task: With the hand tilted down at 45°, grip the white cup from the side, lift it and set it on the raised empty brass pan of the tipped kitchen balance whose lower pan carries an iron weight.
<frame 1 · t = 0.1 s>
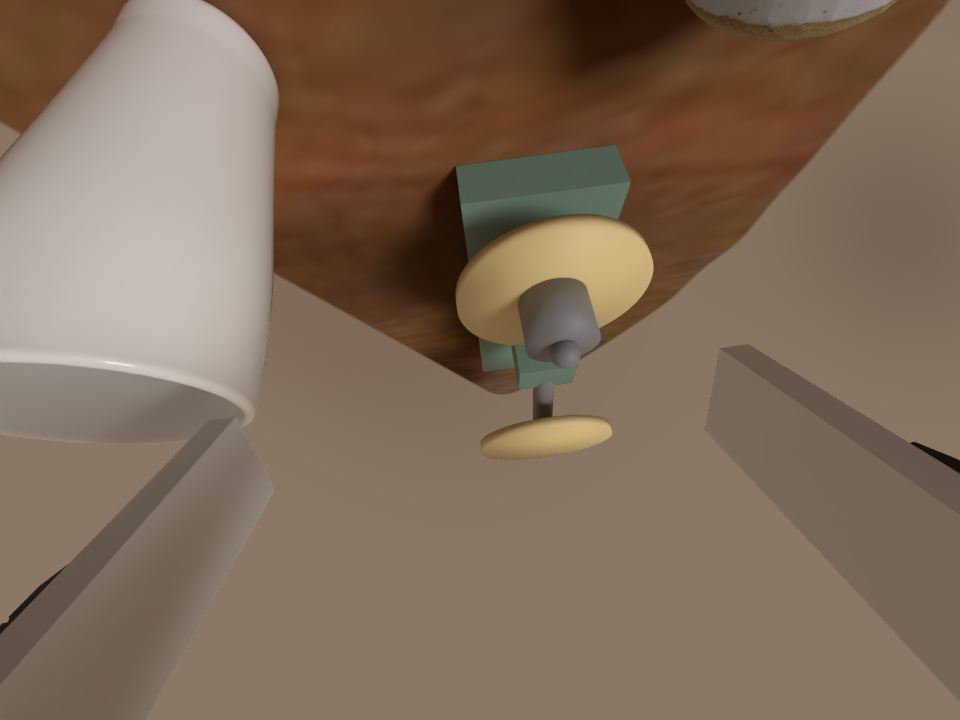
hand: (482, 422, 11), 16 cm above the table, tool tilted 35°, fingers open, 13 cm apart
balance: (525, 278, 31), on the table
white cup: (209, 63, 16), on the table, touching gripper
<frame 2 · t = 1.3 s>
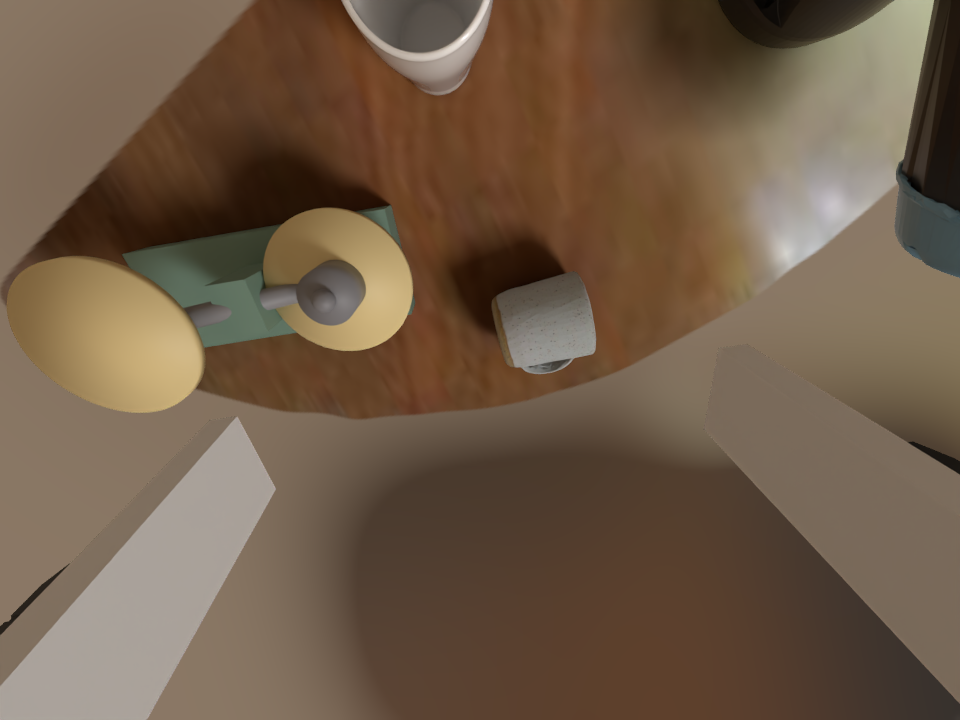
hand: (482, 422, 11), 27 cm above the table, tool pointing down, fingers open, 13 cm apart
balance: (288, 276, 35), on the table
ceramic mug: (540, 319, 38), on the table
white cup: (436, 53, 28), on the table
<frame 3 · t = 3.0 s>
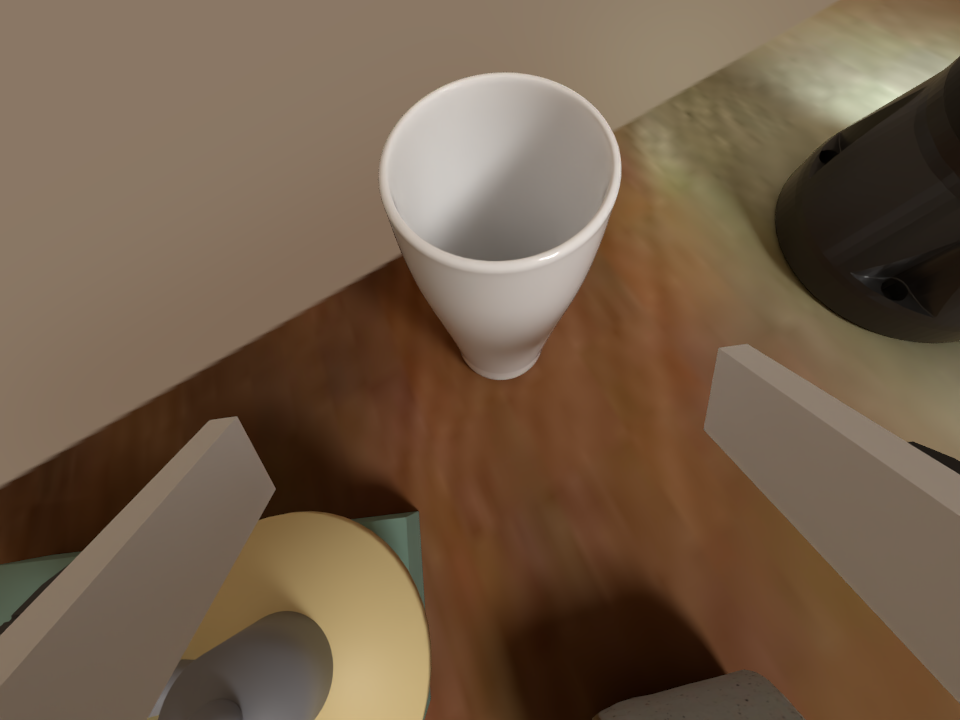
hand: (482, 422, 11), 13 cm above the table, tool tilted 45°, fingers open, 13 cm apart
balance: (226, 621, 21), on the table
white cup: (500, 343, 25), on the table
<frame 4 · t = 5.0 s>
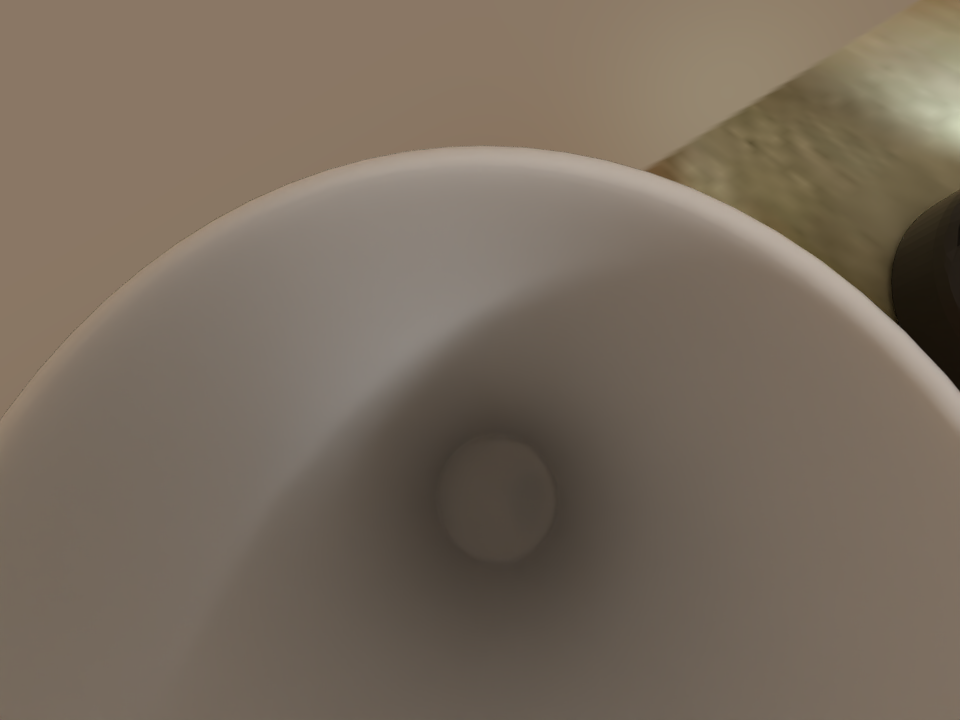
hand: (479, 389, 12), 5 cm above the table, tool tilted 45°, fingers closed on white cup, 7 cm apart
white cup: (497, 493, 16), on the table, touching gripper
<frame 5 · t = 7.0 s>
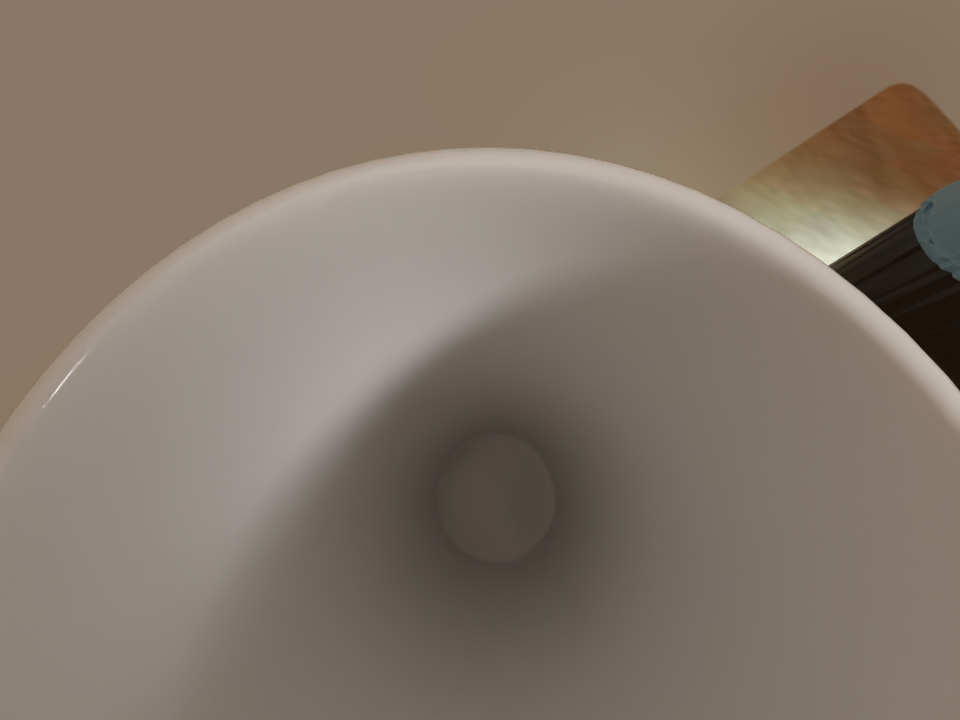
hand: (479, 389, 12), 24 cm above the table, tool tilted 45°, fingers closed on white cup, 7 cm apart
white cup: (498, 493, 16), point 19 cm above the table, touching gripper
when the fingers open (19 cm above the table, at t = 9.5 s): white cup drops 1 cm, resting on balance.
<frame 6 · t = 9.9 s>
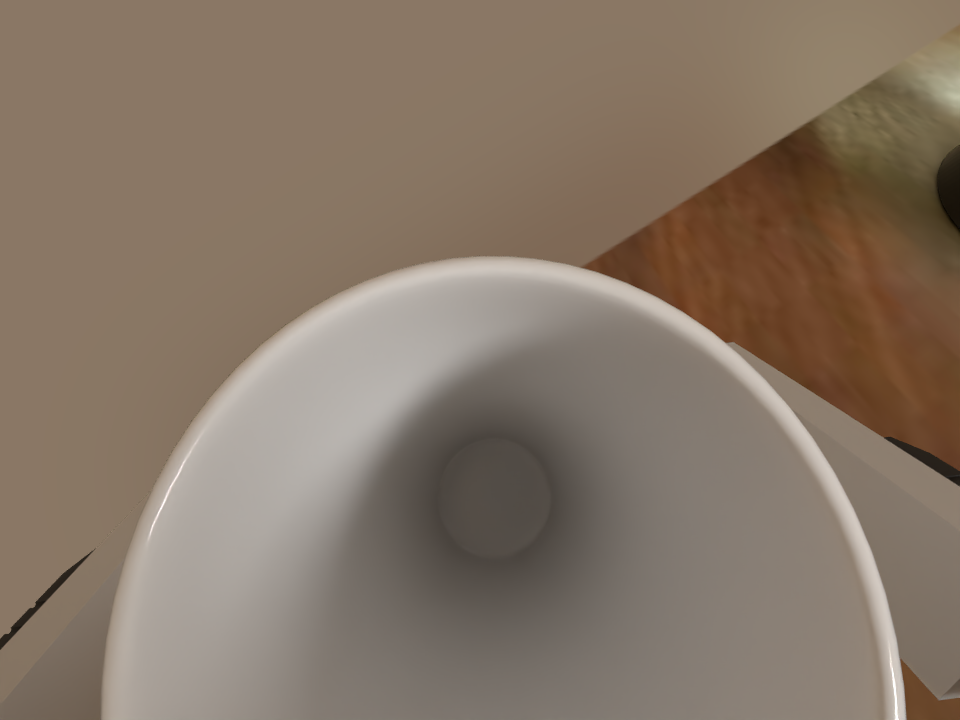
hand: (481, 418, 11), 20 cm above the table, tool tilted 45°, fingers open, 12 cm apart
white cup: (494, 493, 18), point 12 cm above the table, touching balance
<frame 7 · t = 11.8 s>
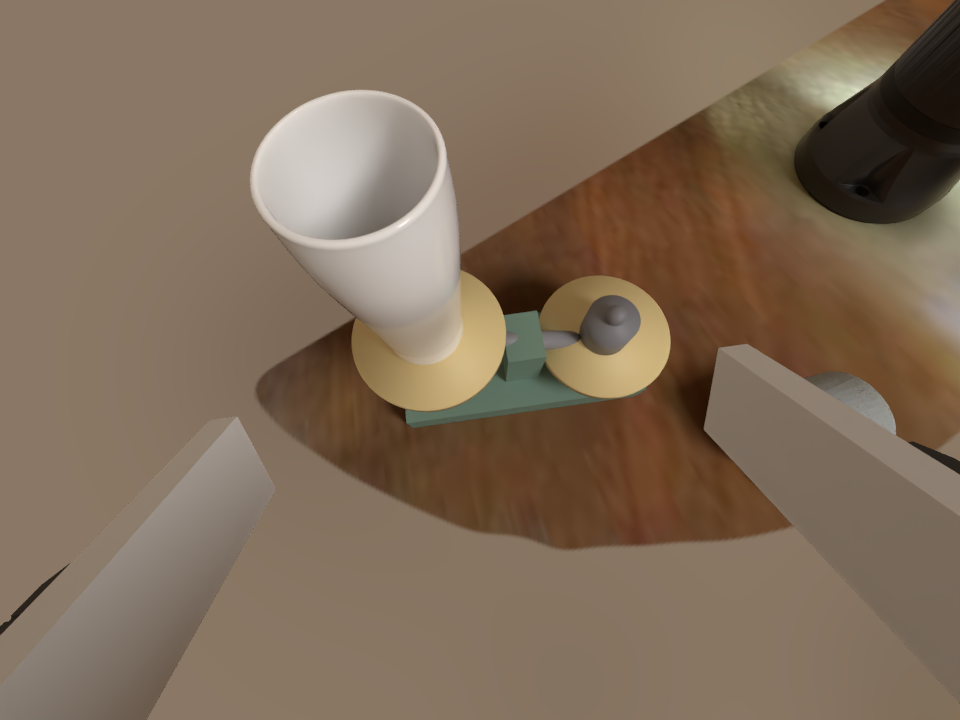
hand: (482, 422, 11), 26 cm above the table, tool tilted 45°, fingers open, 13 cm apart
balance: (516, 368, 38), on the table
ceramic mug: (781, 444, 35), on the table
white cup: (427, 332, 27), point 12 cm above the table, touching balance
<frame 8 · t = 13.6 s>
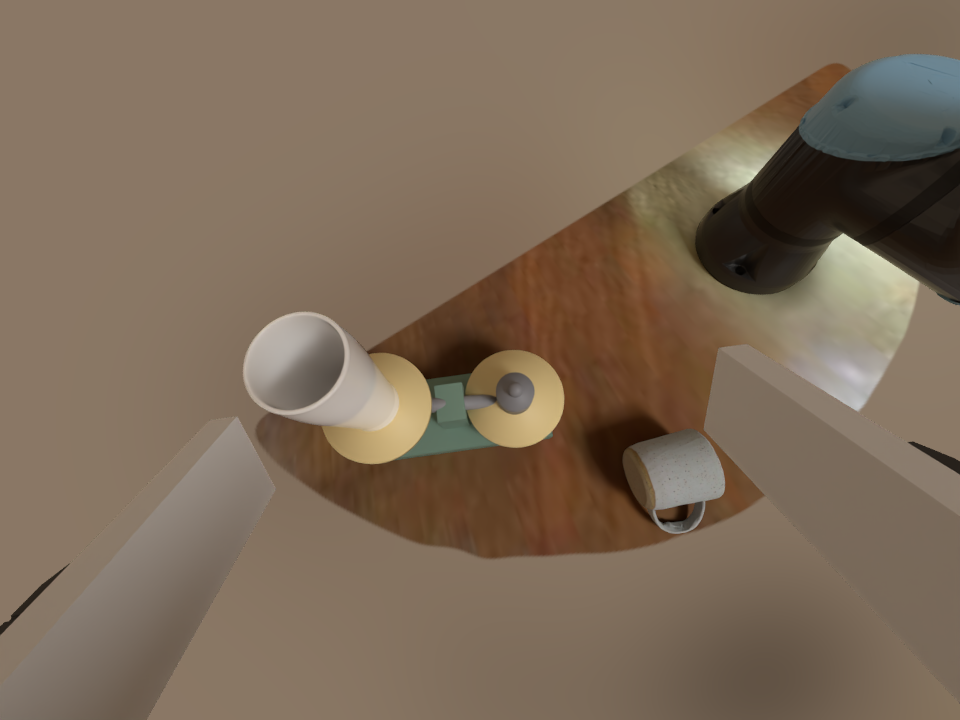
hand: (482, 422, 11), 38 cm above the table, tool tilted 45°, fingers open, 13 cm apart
balance: (458, 415, 49), on the table
ceramic mug: (661, 481, 45), on the table
white cup: (374, 405, 37), point 12 cm above the table, touching balance
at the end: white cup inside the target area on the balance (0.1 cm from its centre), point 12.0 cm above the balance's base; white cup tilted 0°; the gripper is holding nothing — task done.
